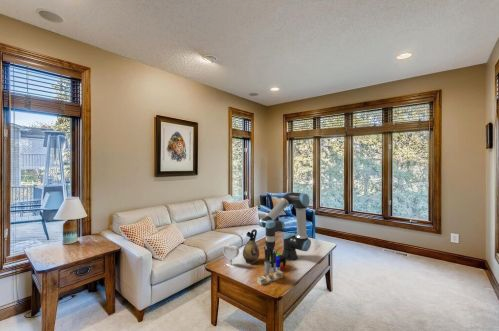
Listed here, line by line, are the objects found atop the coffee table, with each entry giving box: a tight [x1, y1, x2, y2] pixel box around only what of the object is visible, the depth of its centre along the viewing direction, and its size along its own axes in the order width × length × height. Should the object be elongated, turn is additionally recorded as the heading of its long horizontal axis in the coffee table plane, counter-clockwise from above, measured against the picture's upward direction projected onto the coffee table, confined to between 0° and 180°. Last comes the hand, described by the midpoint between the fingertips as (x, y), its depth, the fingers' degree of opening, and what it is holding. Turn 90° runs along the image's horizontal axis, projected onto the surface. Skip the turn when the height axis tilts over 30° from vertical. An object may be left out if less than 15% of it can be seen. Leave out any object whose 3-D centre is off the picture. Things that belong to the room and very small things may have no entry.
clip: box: [263, 260, 276, 276], centre depth 186 cm, size 9×3×10 cm, turn 124°
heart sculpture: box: [222, 244, 240, 269], centre depth 212 cm, size 16×5×18 cm, turn 59°
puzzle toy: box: [270, 253, 287, 271], centre depth 207 cm, size 10×10×10 cm
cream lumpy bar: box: [256, 270, 284, 286], centre depth 186 cm, size 22×5×4 cm, turn 124°
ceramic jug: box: [242, 228, 260, 264], centre depth 221 cm, size 17×15×30 cm
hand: (270, 270), depth 186 cm, fingers closed on clip, 3 cm apart
